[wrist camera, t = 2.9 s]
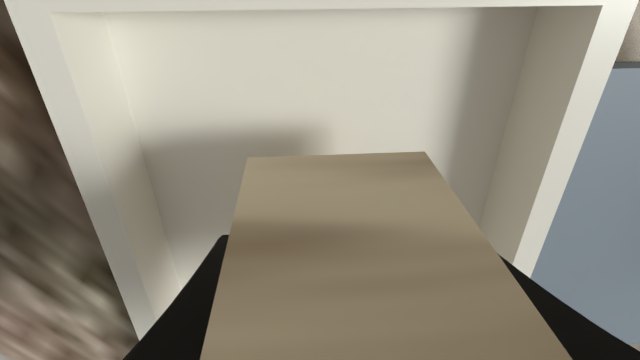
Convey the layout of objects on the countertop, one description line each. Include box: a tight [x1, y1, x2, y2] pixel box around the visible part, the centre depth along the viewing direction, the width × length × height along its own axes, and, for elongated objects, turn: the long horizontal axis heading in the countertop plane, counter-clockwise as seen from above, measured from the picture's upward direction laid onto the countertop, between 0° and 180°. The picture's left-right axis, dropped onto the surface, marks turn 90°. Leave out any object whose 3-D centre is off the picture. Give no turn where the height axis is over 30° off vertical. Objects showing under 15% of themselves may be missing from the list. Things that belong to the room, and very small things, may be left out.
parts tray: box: [4, 0, 639, 341], centre depth 14 cm, size 22×14×3 cm, turn 0°
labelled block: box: [200, 152, 572, 360], centre depth 8 cm, size 4×4×6 cm
